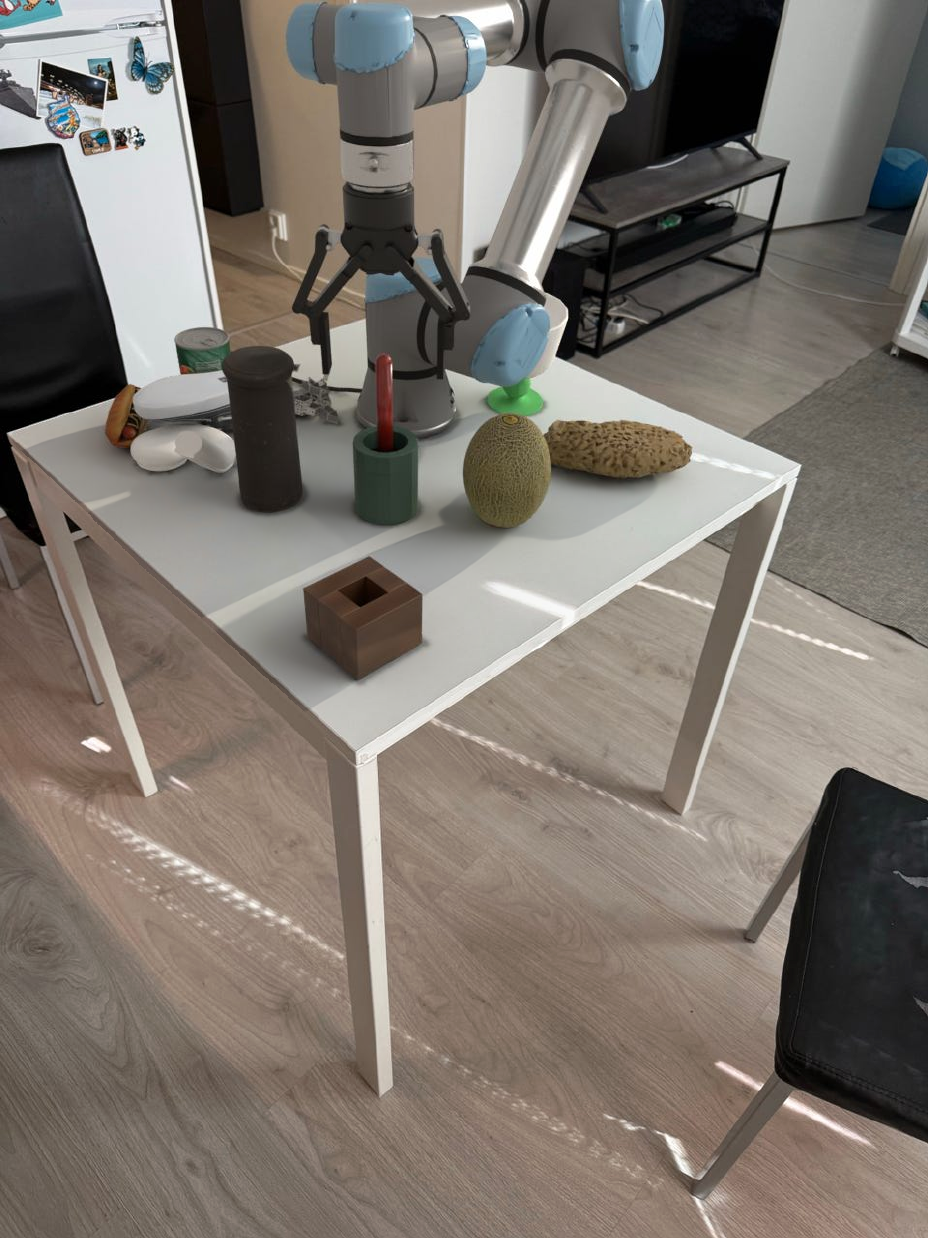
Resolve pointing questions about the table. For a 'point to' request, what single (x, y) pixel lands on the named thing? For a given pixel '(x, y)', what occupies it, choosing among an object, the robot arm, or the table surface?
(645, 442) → the sponge
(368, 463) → the green hollow cylinder
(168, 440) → the sculpture
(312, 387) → the house of cards
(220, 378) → the boat shoe
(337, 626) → the holder
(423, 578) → the table surface
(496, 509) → the fruit
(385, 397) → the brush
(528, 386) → the cup
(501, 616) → the table surface
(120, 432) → the hot dog
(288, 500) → the container
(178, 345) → the canned tomato
